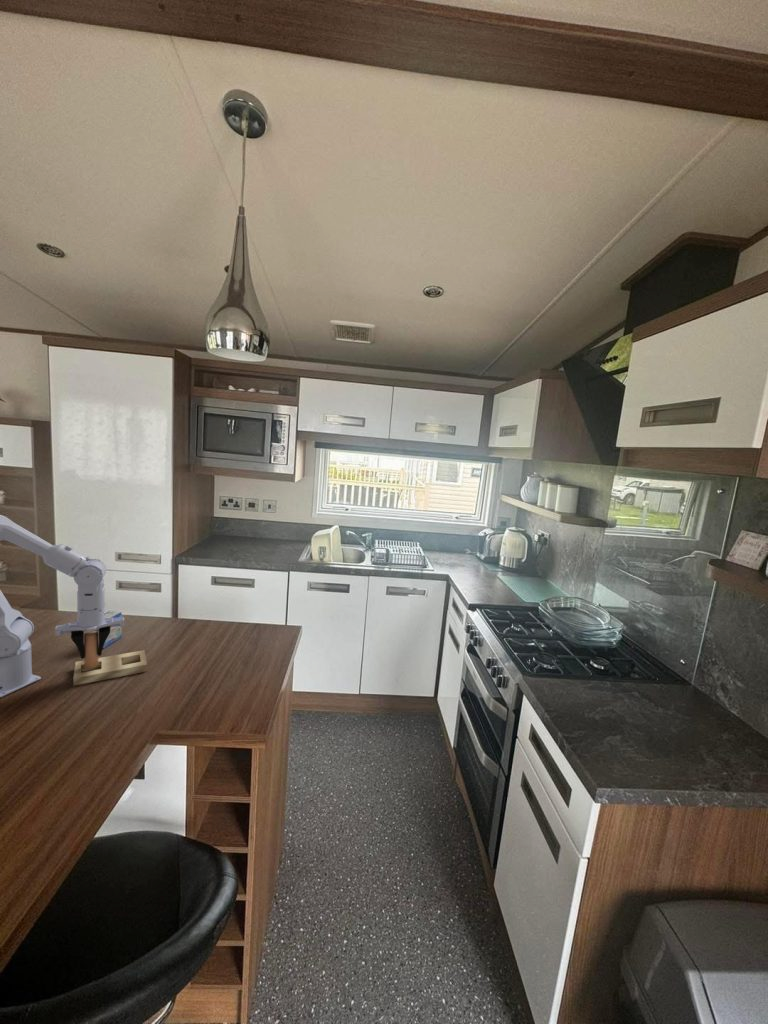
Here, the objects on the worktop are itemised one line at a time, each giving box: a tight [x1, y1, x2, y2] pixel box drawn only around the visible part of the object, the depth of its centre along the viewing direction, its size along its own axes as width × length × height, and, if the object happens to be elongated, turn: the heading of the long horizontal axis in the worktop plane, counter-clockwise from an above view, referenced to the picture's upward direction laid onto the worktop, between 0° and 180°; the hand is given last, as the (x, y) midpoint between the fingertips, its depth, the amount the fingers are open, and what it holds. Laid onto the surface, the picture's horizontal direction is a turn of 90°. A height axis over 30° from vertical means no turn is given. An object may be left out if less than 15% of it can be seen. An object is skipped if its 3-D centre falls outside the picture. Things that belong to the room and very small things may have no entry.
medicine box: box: [89, 610, 123, 649], centre depth 122 cm, size 8×4×9 cm, turn 179°
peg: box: [83, 631, 99, 669], centre depth 105 cm, size 3×3×9 cm
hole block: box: [73, 649, 148, 686], centre depth 108 cm, size 16×9×2 cm, turn 125°
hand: (91, 655), depth 105 cm, fingers closed on peg, 3 cm apart
